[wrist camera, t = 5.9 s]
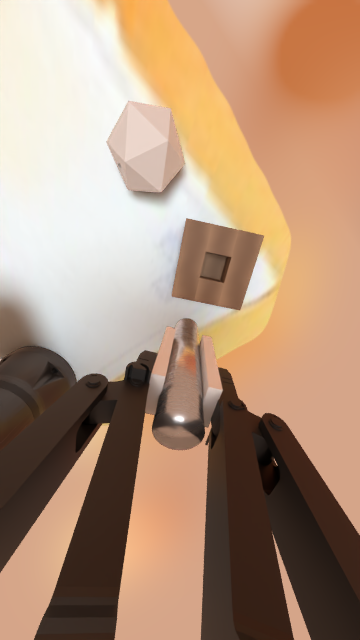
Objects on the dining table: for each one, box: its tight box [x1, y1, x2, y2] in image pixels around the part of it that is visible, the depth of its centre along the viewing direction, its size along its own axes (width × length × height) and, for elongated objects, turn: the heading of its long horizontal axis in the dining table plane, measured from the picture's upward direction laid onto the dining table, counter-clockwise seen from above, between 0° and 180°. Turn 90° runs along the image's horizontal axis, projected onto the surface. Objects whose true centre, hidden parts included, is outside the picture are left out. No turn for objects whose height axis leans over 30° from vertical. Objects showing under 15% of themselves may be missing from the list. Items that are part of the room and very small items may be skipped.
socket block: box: [172, 218, 264, 310], centre depth 30 cm, size 11×11×5 cm
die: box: [107, 101, 185, 193], centre depth 25 cm, size 8×9×10 cm
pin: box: [152, 319, 205, 450], centre depth 14 cm, size 2×2×12 cm
